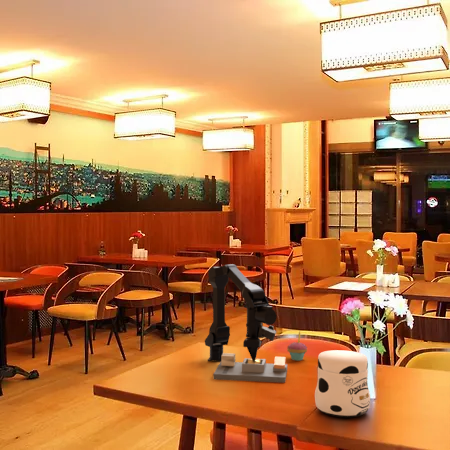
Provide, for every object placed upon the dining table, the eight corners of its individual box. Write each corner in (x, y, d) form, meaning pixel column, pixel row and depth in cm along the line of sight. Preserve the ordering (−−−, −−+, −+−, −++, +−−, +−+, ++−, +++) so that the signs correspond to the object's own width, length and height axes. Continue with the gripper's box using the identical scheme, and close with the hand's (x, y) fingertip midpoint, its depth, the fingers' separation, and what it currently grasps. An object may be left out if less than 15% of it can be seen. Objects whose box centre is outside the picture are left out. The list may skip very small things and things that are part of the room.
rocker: (275, 359, 230) (275, 356, 230) (285, 360, 230) (285, 356, 230) (274, 368, 224) (274, 364, 223) (284, 368, 223) (284, 365, 223)
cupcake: (293, 355, 257) (293, 328, 256) (310, 358, 252) (311, 330, 251) (283, 359, 250) (283, 331, 249) (301, 363, 245) (301, 334, 244)
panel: (220, 366, 239) (220, 354, 239) (287, 369, 235) (287, 356, 235) (213, 379, 222) (213, 366, 221) (285, 382, 218) (285, 369, 217)
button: (248, 365, 231) (248, 358, 231) (261, 366, 230) (261, 358, 230) (246, 369, 226) (246, 361, 226) (259, 369, 225) (259, 362, 225)
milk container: (372, 423, 177) (372, 364, 176) (314, 420, 180) (314, 361, 179) (367, 404, 194) (368, 350, 193) (314, 401, 197) (315, 348, 196)
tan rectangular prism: (223, 363, 235) (223, 353, 235) (235, 363, 234) (235, 353, 234) (221, 365, 231) (221, 355, 231) (234, 366, 230) (234, 356, 230)
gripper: (273, 326, 217) (272, 367, 218) (276, 316, 236) (276, 355, 236) (243, 325, 219) (243, 366, 219) (248, 315, 237) (248, 353, 238)
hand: (253, 360), depth 228 cm, fingers closed, pressing on button
